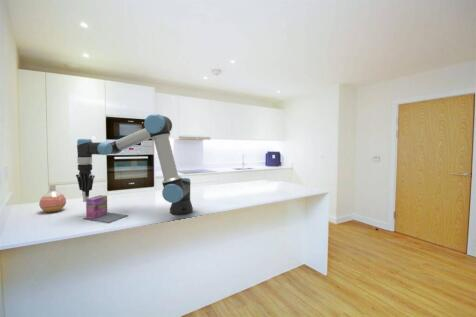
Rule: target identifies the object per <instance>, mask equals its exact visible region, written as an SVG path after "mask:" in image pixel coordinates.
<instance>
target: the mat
mask: <svg viewBox="0 0 476 317" xmlns="http://www.w3.org/2000/svg"><path fill="white" fill-rule="evenodd" d="M128 216H129V215H128V214H123V213H116V212H115V213H114V212H108V211H107V214H105V215H103V216H100V217H97V218H95V219H90V218H86V216H85V217H83V218H82V220H85V221H92V222H93V221H94V222H99V223H105V224H111V223H113V222H117V221H119V220H121V219H124V218H127V217H128Z"/></svg>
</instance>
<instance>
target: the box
mask: <svg viewBox="0 0 476 317" xmlns="http://www.w3.org/2000/svg"><path fill="white" fill-rule="evenodd" d="M85 205H86V206H85V214H86V216H85V217H86V218H90V219H95V218H97V217H100V216H103V215H105V214H107V212H108V195H103V194H101V195H100V194H99V195H96V196H92V197H89V198H88V199H86V202H85Z"/></svg>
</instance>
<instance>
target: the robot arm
mask: <svg viewBox="0 0 476 317" xmlns="http://www.w3.org/2000/svg"><path fill="white" fill-rule="evenodd" d="M143 123H144V124H143V125H144V128H142V129H139V130H138V131H136V132H133V133H131V134H128V135H125V136H124V137H123V136H122V137H121V138H119V139H117V140H114V141H112V142H99V141H98V142H93V140H92V139H91V138H79V139H77V141H76V142H77V143H76V148H77V152H76V153H77V162H76V163H77V171H78V174H76V175H75V177H76V179H77V183H78V189H79V191H81V192H82V193H81V195H82V202H83V203H86V199H88V198H90V197H89V196H90V191H92V190H93V184H94V179H95V175H93V174H92V170H93V155H98V156H99V155H101V156H108V155H117V154H120V153H121V152H122V151H124V150H126V149H129V148H131V147H134V146H136V145H138V144H141V143H143V142H145V141H148V140H150V139H151V140H152V141H153V142H154V145H155V150H156V153H157V154H156V155H157V157H158V161H159V165H160V169H161V172H162V176H163V181H162V183H161V184H162V186H163V188H162V192H161V194H162V195H161V196H162V197H163V200H165V201H166V202H168V203H170V204H171V205H170V206H169V207H170V208H169V213H170V214H171V215H177V216H181V215H182V216H183V215H189V214H191V213H193V212H194V209H193V208H194V207H193V204H192V200H191V178H187V177H181V176H180V175H179V173H178V170H177V165H176V162H175V161H176V160H175V158H174V154H173V150H172V145H171V143H170V142H171V141H170V137H171V132H172V129H173V122H172V120H171V119H170V118H169V117H167V116H165V115H162V114H160V113H150V114H149V115H148V116H147V117H146V118H145V119H144V122H143Z"/></svg>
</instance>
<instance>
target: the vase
mask: <svg viewBox="0 0 476 317" xmlns="http://www.w3.org/2000/svg"><path fill="white" fill-rule="evenodd" d="M56 189H57V187H56V184H49V190H48V192H47V193H45V194H43V196H42V197H41V198H40V199H39V207H40V210H42V211H43V212H46V213H56V212H60V211H61V210H62V209H63V208H64V207H65V206H66V204H67V199H66V196H64V194H62V193H61V192H59V191H57V190H56Z"/></svg>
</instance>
